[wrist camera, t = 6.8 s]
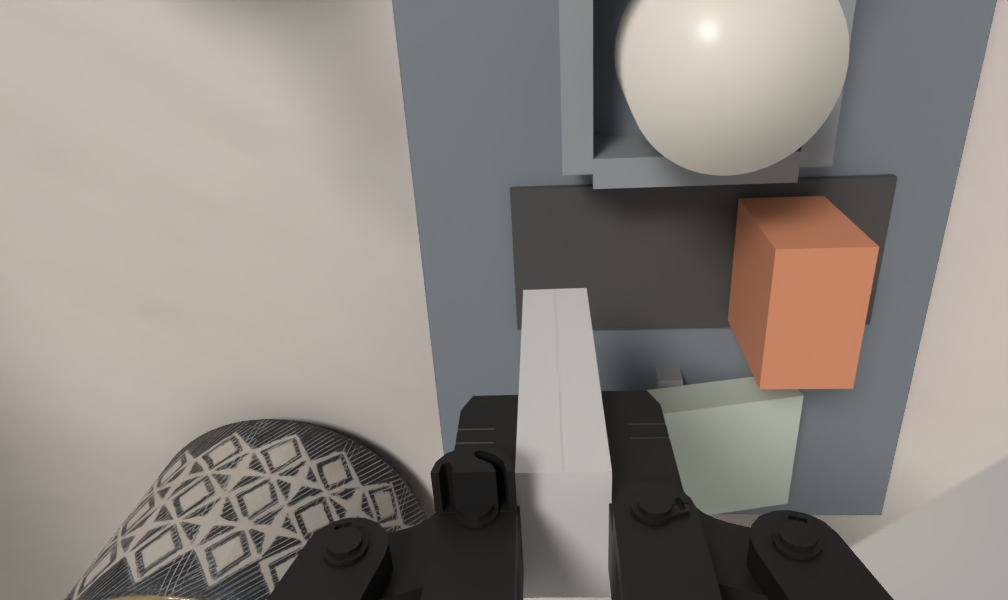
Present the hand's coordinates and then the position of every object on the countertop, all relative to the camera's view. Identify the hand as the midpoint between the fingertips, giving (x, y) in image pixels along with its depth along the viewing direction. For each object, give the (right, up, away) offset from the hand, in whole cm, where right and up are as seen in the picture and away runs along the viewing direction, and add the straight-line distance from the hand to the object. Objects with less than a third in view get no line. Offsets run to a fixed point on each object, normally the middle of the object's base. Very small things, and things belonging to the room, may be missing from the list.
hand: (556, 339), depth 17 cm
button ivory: (+3, +7, 0) cm, 8 cm away
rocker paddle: (+4, -4, +6) cm, 9 cm away
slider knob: (+7, +2, +4) cm, 8 cm away
